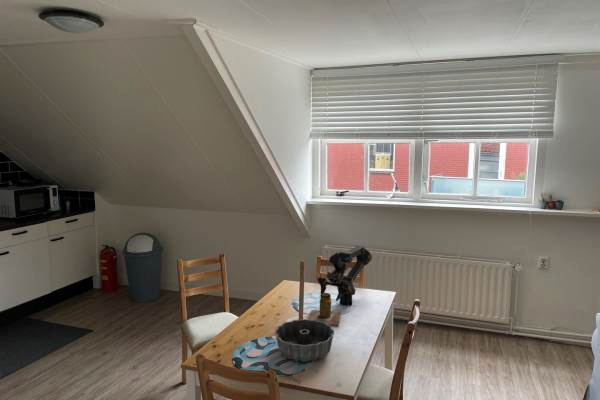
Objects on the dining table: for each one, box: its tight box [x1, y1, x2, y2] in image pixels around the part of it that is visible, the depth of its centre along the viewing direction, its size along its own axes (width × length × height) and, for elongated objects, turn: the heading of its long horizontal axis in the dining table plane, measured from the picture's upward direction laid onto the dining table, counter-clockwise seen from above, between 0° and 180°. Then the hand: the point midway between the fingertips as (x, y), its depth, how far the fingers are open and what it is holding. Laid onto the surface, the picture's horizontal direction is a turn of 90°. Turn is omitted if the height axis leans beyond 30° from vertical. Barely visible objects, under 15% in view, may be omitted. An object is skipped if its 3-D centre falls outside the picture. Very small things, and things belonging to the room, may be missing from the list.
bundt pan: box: [274, 318, 335, 362], centre depth 196 cm, size 26×26×10 cm
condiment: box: [316, 292, 333, 321], centre depth 230 cm, size 7×8×12 cm
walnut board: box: [307, 309, 342, 328], centre depth 231 cm, size 16×16×1 cm
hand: (328, 298), depth 233 cm, fingers open, 9 cm apart
